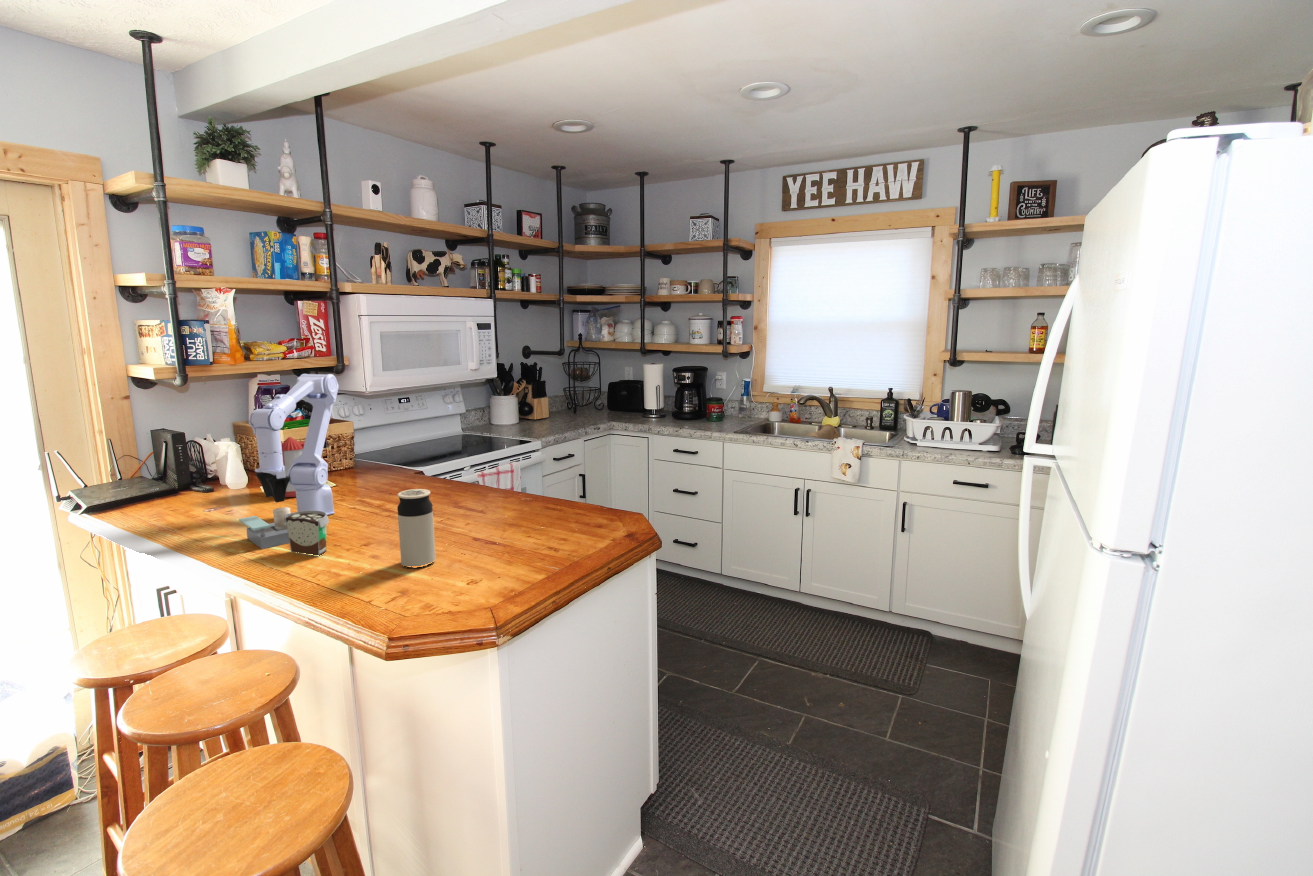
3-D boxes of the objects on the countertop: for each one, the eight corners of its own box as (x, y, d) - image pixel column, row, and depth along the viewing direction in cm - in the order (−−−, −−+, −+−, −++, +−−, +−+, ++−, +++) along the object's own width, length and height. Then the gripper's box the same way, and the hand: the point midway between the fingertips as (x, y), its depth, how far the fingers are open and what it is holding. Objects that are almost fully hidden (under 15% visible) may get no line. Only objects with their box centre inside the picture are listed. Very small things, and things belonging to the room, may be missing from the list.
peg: (290, 534, 178) (287, 506, 177) (294, 537, 175) (291, 509, 174) (274, 537, 175) (271, 509, 174) (278, 540, 173) (275, 512, 171)
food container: (342, 549, 166) (339, 512, 164) (323, 557, 161) (320, 519, 159) (306, 544, 170) (303, 508, 168) (286, 551, 164) (282, 514, 163)
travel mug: (415, 571, 152) (410, 498, 148) (394, 564, 156) (389, 494, 153) (442, 561, 158) (438, 491, 155) (421, 555, 162) (417, 486, 159)
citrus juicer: (253, 500, 211) (247, 441, 208) (291, 487, 228) (286, 432, 225) (295, 502, 209) (289, 442, 205) (330, 489, 226) (325, 433, 222)
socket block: (295, 528, 183) (293, 508, 182) (311, 538, 175) (309, 517, 174) (241, 540, 173) (238, 518, 172) (255, 550, 165) (253, 528, 164)
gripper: (245, 450, 178) (250, 497, 181) (262, 457, 169) (268, 507, 171) (273, 446, 183) (278, 492, 186) (291, 453, 174) (296, 501, 176)
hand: (275, 499), depth 179 cm, fingers open, 7 cm apart
